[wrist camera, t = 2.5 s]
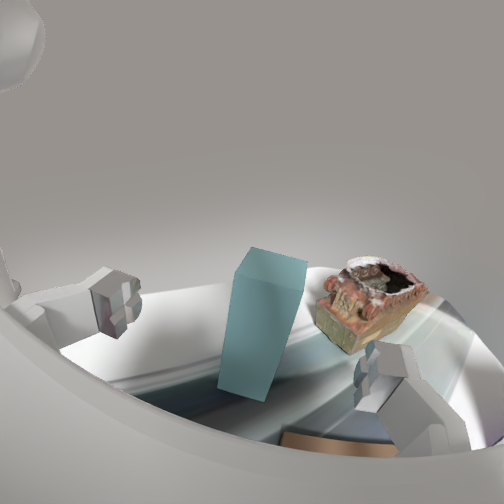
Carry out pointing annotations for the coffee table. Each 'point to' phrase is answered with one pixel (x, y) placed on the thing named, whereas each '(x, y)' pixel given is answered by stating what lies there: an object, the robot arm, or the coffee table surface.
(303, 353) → the coffee table surface
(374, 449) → the walnut board
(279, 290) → the teal block
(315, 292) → the coffee table surface
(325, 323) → the decorative box
